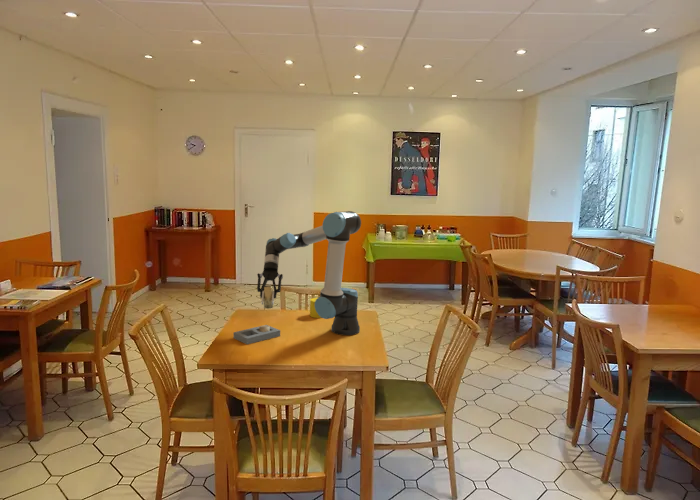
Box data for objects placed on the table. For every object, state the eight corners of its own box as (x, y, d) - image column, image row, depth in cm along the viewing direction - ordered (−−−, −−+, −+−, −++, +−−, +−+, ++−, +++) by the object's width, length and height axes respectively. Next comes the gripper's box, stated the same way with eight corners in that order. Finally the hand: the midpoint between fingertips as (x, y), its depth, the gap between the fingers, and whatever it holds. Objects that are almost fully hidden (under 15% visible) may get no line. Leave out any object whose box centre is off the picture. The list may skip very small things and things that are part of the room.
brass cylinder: (274, 307, 264) (274, 287, 262) (267, 309, 261) (267, 288, 259) (269, 305, 267) (269, 285, 265) (262, 306, 264) (262, 286, 262)
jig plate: (280, 336, 259) (280, 330, 258) (247, 344, 245) (247, 338, 244) (266, 330, 267) (266, 324, 267) (233, 338, 253) (233, 332, 253)
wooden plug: (271, 335, 259) (271, 327, 258) (263, 337, 255) (263, 329, 255) (265, 332, 263) (265, 324, 262) (257, 334, 259) (257, 326, 258)
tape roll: (317, 312, 304) (317, 296, 303) (330, 315, 299) (330, 299, 297) (306, 315, 296) (306, 300, 295) (319, 319, 291) (320, 303, 289)
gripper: (287, 269, 276) (284, 307, 263) (255, 268, 275) (250, 306, 262) (287, 261, 270) (284, 300, 257) (254, 260, 269) (249, 299, 256)
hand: (267, 303), depth 259 cm, fingers closed on brass cylinder, 4 cm apart
